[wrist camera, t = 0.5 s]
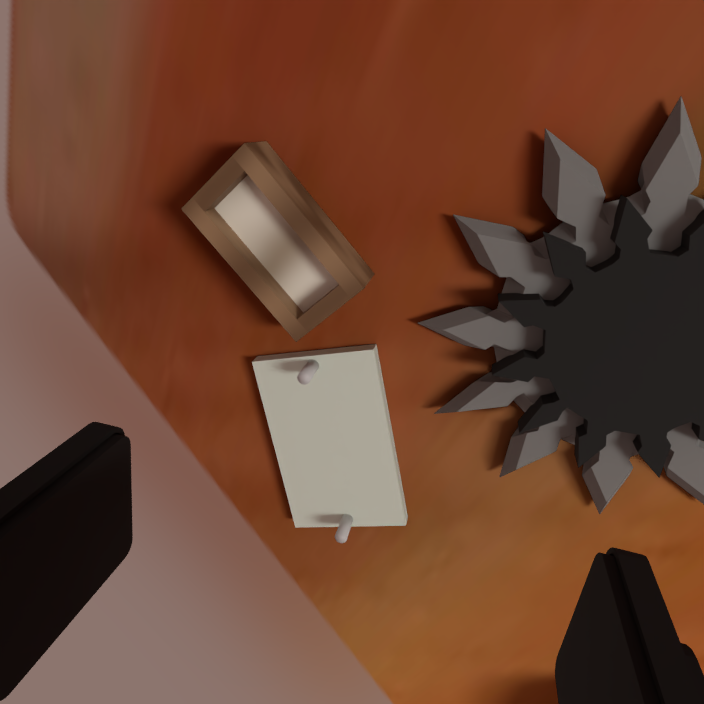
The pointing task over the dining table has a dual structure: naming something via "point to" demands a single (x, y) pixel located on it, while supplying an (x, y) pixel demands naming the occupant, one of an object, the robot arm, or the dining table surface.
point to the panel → (333, 437)
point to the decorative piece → (599, 319)
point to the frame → (277, 239)
